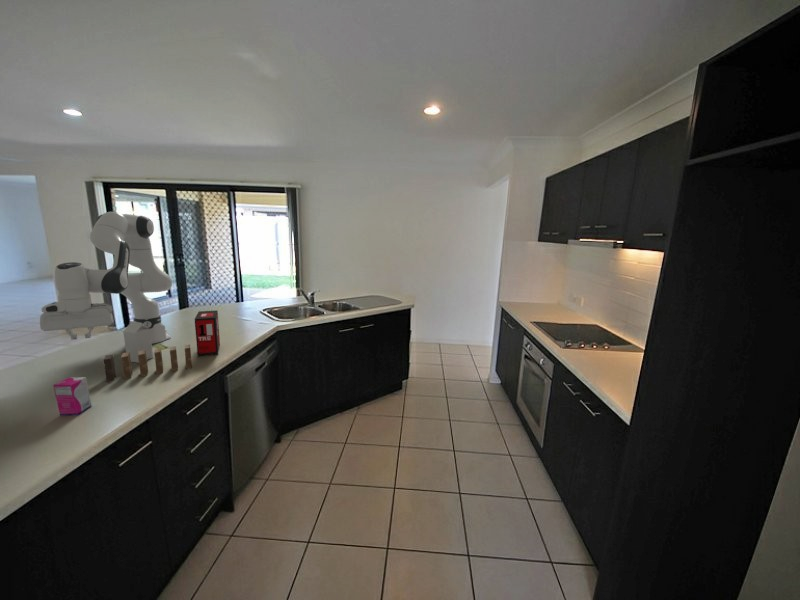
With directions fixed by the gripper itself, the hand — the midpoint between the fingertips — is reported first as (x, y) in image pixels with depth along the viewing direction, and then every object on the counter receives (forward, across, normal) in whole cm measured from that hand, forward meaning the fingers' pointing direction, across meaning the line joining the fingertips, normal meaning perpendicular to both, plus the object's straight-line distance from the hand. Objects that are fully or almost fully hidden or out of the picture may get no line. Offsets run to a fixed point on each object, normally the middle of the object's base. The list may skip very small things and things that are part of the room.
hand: (81, 338), depth 125 cm
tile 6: (+19, -34, 0) cm, 39 cm away
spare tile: (+19, -7, 0) cm, 20 cm away
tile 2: (+19, -12, 0) cm, 23 cm away
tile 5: (+19, -29, 0) cm, 35 cm away
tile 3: (+19, -18, 0) cm, 26 cm away
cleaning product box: (+19, -44, -19) cm, 52 cm away
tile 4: (+19, -24, 0) cm, 30 cm away
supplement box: (+19, -1, +25) cm, 32 cm away
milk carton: (+19, -15, -20) cm, 32 cm away
